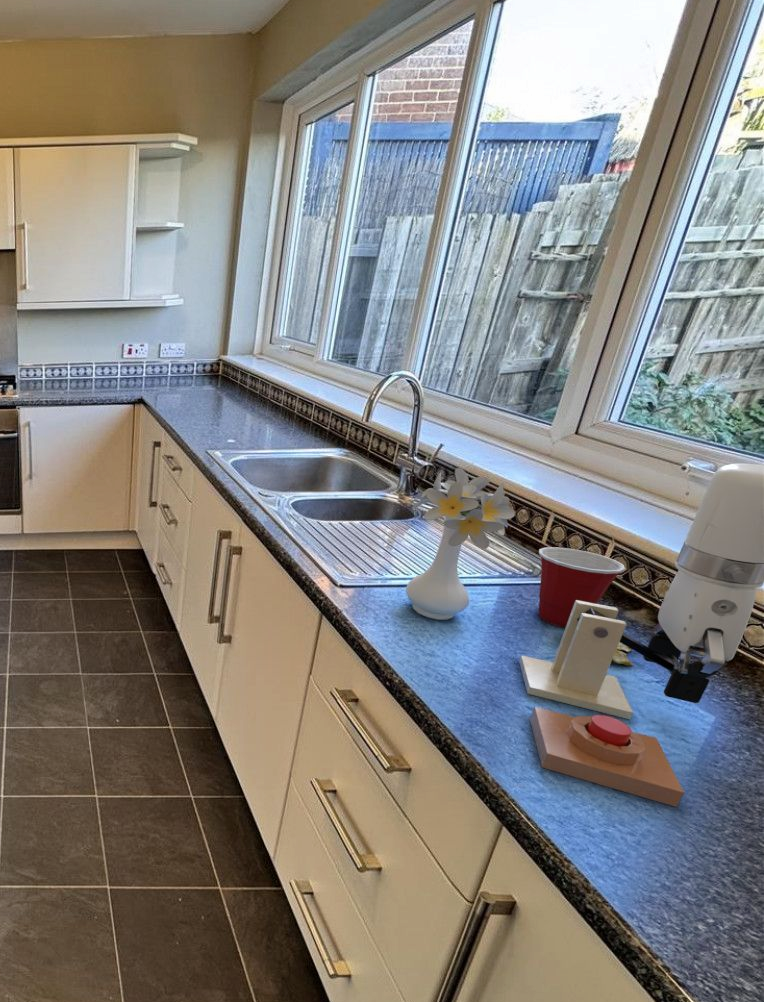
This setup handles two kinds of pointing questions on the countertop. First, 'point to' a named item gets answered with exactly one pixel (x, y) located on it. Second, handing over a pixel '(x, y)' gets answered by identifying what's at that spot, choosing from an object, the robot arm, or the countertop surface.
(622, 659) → the fruit
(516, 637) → the countertop surface
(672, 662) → the black t-handle lever
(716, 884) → the countertop surface
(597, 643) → the lever bracket
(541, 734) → the control block
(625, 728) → the red button
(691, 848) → the countertop surface
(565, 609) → the plastic cup
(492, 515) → the flower vase
